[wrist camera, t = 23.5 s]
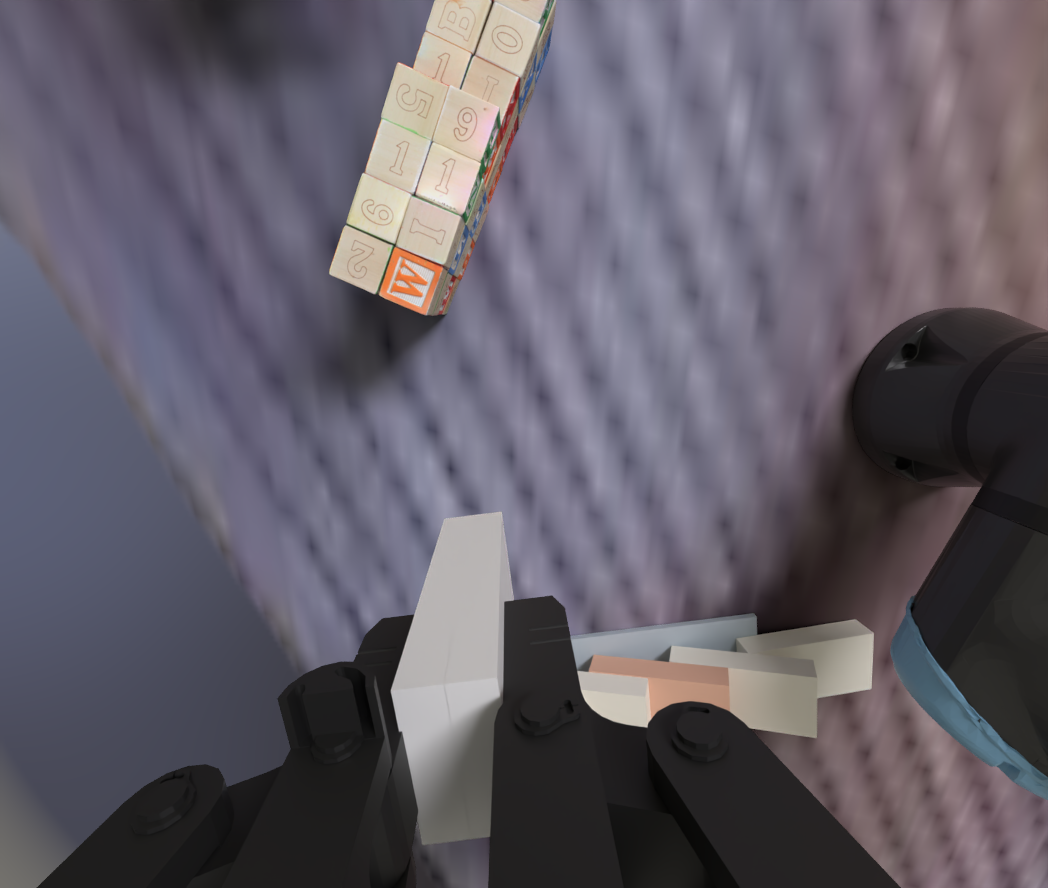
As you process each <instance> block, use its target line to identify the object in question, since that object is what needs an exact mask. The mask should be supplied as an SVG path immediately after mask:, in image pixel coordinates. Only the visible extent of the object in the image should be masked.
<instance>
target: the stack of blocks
mask: <svg viewBox="0 0 1048 888" xmlns="http://www.w3.org/2000/svg"><path fill="white" fill-rule="evenodd" d="M556 1H557V0H435V1H434V4H433V8H432V11H431V14H430V17H429V20H428V23H427V26H426V31H425V33H424V35H423V37H422V41H421V44H420V47H419V50H418V53H417V56H416V60H415V63H414V66H413V68H411V67H409V66H407V65H405V64H402V63H400V62H398V63H397V66H396V69H395V72H394V75H393V79H392V82H391V85H390V88H389V92H388V95H387V98H386V101H385V104H384V107H383V111H382V114H381V122H380V125H379V128H378V130H377V134H376V137H375V140H374V143H373V147H372V150H371V153H370V156H369V159H368V162H367V166H366V170H365V172H364V173H363V174H362V175H361V178H360V181H359V184H358V187H357V190H356V194H355V197H354V200H353V203H352V206H351V209H350V212H349V215H348V218H347V225H345V227H344V228H343V231H342V234H341V237H340V240H339V243H338V246H337V249H336V252H335V255H334V258H333V261H332V264H331V267H330V270H329V274H330V275H332V276H334V277H336V278H339V279H341V280H343V281H346V282H348V283H350V284H352V285H355V286H357V287H359V288H361V289H364V290H366V291H368V292H371V293H373V294H379V296H381V297H383V298H385V299H387V300H390V301H392V302H394V303H397V304H399V305H401V306H404V307H406V308H408V309H411V310H413V311H415V312H418V313H420V314H423V315H430V316H436V315H440V314H442V315H445V314H447V312H448V309H449V307H450V304H451V302H452V299H453V297H454V294H455V291H456V289H457V286H458V284H459V281H460V280H461V279H462V276H463V274H464V271H465V269H466V266H467V264H468V261H469V258H470V256H471V253H472V251H473V248H474V245H475V243H476V241H477V238H478V236H479V233H480V231H481V228H482V225H483V223H484V220H485V218H486V215H487V212H488V210H489V203H490V201H491V198H492V195H493V192H494V190H495V187H496V185H497V182H498V179H499V177H500V174H501V172H502V167H503V164H504V162H505V159H506V157H507V154H508V152H509V149H510V146H511V143H512V141H513V138H514V136H515V133H516V130H517V129H518V128H519V127H520V125H521V122H522V120H523V117H524V115H525V112H526V109H527V107H528V104H529V102H530V99H531V96H532V94H533V91H534V87H535V84H536V82H537V79H538V77H539V74H540V71H541V69H542V66H543V63H544V61H545V58H546V55H547V53H548V50H549V47H550V41H551V34H552V27H553V22H554V16H555V9H556Z"/></svg>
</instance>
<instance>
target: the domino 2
mask: <svg viewBox="0 0 1048 888" xmlns="http://www.w3.org/2000/svg"><path fill="white" fill-rule="evenodd" d="M589 672H593V673H602V674H612V675H622V676H631V677H641V678H648V685H649V698H650V711H651V719H652V717H653V716H654V715H655V714H656V712H657V711H659V710H661V709H663V708H665V707H667V706H668V705H670V704H673V703H680V702H686V701H695V702H704V703H710V704H713V705H715V706H718V707H721V708H723V709H726V710H728V711H730V696H729V675H728V668H725V667H715V666H705V665H695V664H685V663H674V662H664V661H654V660H644V659H634V658H623V657H613V656H603V655H593V659H592V662H591V665H590V668H589Z"/></svg>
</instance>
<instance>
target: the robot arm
mask: <svg viewBox="0 0 1048 888" xmlns="http://www.w3.org/2000/svg"><path fill="white" fill-rule="evenodd" d="M853 422H854V427H855V431H856V434H857V437H858V440H859V442H860V444H861V446H862V448H863V449H864V451H865V452H866V453H867V455H868V456H869V457H870V458H871V459H872V460H873V461H874V462H875V463H876V464H877V465H878V466H880V467H881V468H883V469H884V470H886V471H888V472H890V473H892V474H894V475H897V476H899V477H902V478H904V479H907V480H909V481H912V482H915V483H918V484H923V485H928V486H937V487H981V489H980V490H979V492H978V494H977V495H976V497H975V499H974V500H973V502H972V503H971V505H970V506H969V508H968V510H967V511H966V513H965V515H964V516H963V518H962V519H961V521H960V523H959V524H958V526H957V528H956V529H955V531H954V533H953V534H952V536H951V538H950V539H949V541H948V543H947V544H946V546H945V548H944V549H943V551H942V553H941V554H940V556H939V558H938V559H937V561H936V562H935V564H934V566H933V567H932V569H931V571H930V572H929V574H928V576H927V577H926V579H925V581H924V582H923V584H922V586H921V587H920V589H919V591H918V592H917V594H916V595H915V596H912V597H911V598H910V600H909V601H908V603H907V606H906V615H905V617H904V619H903V621H902V623H901V625H900V627H899V628H898V630H897V632H896V634H895V636H894V638H893V640H892V644H891V656H892V660H893V663H894V668H895V671H896V673H897V675H898V676H899V678H900V680H901V682H902V683H903V685H904V686H905V687H906V689H907V690H908V692H909V693H910V694H911V695H912V697H913V698H914V699H915V700H916V701H917V702H918V704H919V705H920V706H921V707H922V708H923V709H924V710H925V711H926V712H927V713H928V714H929V715H930V716H931V717H932V718H933V719H934V720H935V721H936V722H937V723H938V724H939V725H940V726H941V727H942V728H943V729H944V730H945V731H946V732H948V733H949V734H950V735H951V736H952V737H953V738H954V739H956V740H957V741H958V742H959V743H960V744H961V745H963V746H964V747H965V748H966V749H968V750H969V751H970V752H971V753H973V754H974V755H975V756H977V757H978V758H979V759H981V760H982V761H983V762H985V763H986V764H988V765H989V766H997V767H999V769H1000V770H1001V771H1003V772H1004V773H1005V774H1006V775H1007V776H1008V777H1009V778H1010V779H1011V780H1012V781H1013V782H1015V783H1016V784H1018V785H1020V786H1021V787H1023V788H1025V789H1026V790H1028V791H1030V792H1032V793H1033V794H1035V795H1037V796H1039V797H1042V798H1044V799H1046V800H1048V331H1047V330H1045V329H1042V328H1040V327H1037V326H1035V325H1032V324H1030V323H1027V322H1025V321H1022V320H1020V319H1017V318H1015V317H1012V316H1010V315H1007V314H1005V313H1002V312H999V311H995V310H990V309H984V308H945V309H938V310H934V311H930V312H927V313H923V314H921V315H918V316H916V317H914V318H912V319H910V320H908V321H906V322H905V323H903V324H901V325H900V326H898V327H897V328H896V329H894V330H893V331H892V332H891V333H890V334H888V335H887V336H886V337H885V338H884V339H883V340H882V341H881V342H880V343H879V344H878V346H877V347H876V348H875V349H874V351H873V352H872V353H871V355H870V356H869V358H868V359H867V361H866V363H865V365H864V366H863V368H862V371H861V373H860V375H859V378H858V381H857V384H856V387H855V392H854V397H853ZM999 515H1000V516H999ZM1012 520H1013V521H1012ZM1017 522H1018V523H1017ZM1022 524H1023V525H1022ZM1027 526H1028V527H1027ZM1032 528H1033V529H1032ZM1037 530H1038V531H1037ZM278 702H279V706H280V710H281V714H282V717H283V721H284V725H285V729H286V732H287V736H288V740H289V744H290V748H291V750H290V752H289V754H288V756H287V758H286V760H285V762H284V764H283V765H282V766H280V767H278V768H276V769H274V770H271V771H269V772H267V773H264V774H262V775H259V776H256V777H253V778H251V779H248V780H245V781H242V782H240V783H237V784H235V785H232V786H229V787H226V783H225V780H224V778H223V776H222V774H221V772H220V771H219V769H218V768H215V767H212V766H209V765H196V766H187V767H184V768H181V769H178V770H175V771H173V772H170V773H167V774H165V775H164V776H161V777H160V778H158V779H156V780H154V781H153V782H151V783H149V784H147V785H146V786H144V787H143V788H142V789H140V790H139V791H138V792H137V793H135V794H134V795H133V796H132V797H131V798H129V799H128V800H127V801H126V802H124V803H123V804H122V805H121V806H120V807H119V808H118V809H117V810H116V811H115V812H114V813H113V814H112V815H111V816H110V817H109V818H108V819H107V820H106V821H105V822H104V823H103V824H102V825H101V826H100V827H99V828H97V830H95V831H94V832H93V833H92V834H91V836H89V837H88V838H87V839H86V840H85V841H84V842H83V843H82V844H81V845H80V846H79V847H78V848H77V849H76V850H75V851H74V852H73V853H72V854H71V855H70V856H69V857H68V858H67V859H66V860H65V861H64V862H63V863H62V864H60V865H59V867H57V868H56V869H55V870H54V871H53V872H52V873H51V874H50V875H49V876H48V877H47V878H46V879H45V880H44V881H43V882H42V883H41V884H40V885H39V886H38V887H37V888H416V866H415V861H414V857H413V852H412V844H413V838H414V833H415V827H416V822H417V821H418V826H419V831H420V836H421V840H422V845H428V844H436V843H444V842H452V841H460V840H468V839H476V838H484V837H490V854H489V882H488V888H901V887H900V886H899V885H898V884H897V883H896V882H895V881H894V880H893V879H892V878H891V877H890V876H889V875H888V874H887V873H886V872H885V870H884V869H883V868H882V867H881V866H880V865H879V864H878V863H877V862H876V861H875V860H874V859H873V858H872V857H871V856H870V855H869V854H868V853H867V852H866V850H865V849H864V848H863V847H862V846H861V845H860V844H859V843H858V842H857V841H856V840H855V839H854V838H853V837H852V836H851V835H850V834H849V833H848V831H847V830H846V829H845V828H844V827H843V826H842V825H841V824H840V823H839V822H838V821H837V820H836V819H835V818H834V817H833V816H832V815H831V814H830V813H829V811H828V810H827V809H826V808H825V807H824V806H823V805H822V804H821V803H820V802H819V801H818V800H817V799H816V798H815V797H814V796H813V795H812V794H811V792H810V791H809V790H808V789H807V788H806V787H805V786H804V785H803V784H802V783H801V782H800V781H799V780H798V779H797V778H796V777H795V776H794V775H793V773H792V772H791V771H790V770H789V769H788V768H787V767H786V766H785V765H784V764H783V763H782V762H781V761H780V760H779V759H778V758H777V757H776V756H775V755H774V753H773V752H772V751H771V750H770V749H769V748H768V747H767V746H766V745H765V744H764V743H763V742H762V741H761V740H760V739H759V738H758V737H757V736H756V734H755V733H754V732H753V731H752V730H751V729H750V728H749V727H748V726H747V725H746V724H745V723H744V722H743V721H741V720H740V719H739V718H738V717H736V716H735V715H734V714H732V713H731V712H730V711H728V710H726V709H723V708H721V707H718V706H715V705H713V704H710V703H704V702H695V701H686V702H680V703H673V704H670V705H668V706H667V707H665V708H663V709H661V710H659V711H657V712H656V714H655V715H654V716H653V717H652V719H651V720H650V721H649V723H648V727H640V726H633V725H626V724H622V723H618V722H614V721H611V720H609V719H607V718H605V717H602V716H601V715H599V714H598V713H597V712H595V711H594V710H593V709H591V707H590V706H589V705H588V704H587V702H586V701H585V700H584V697H583V694H582V692H581V687H580V682H579V677H578V672H577V667H576V662H575V657H574V652H573V647H572V642H571V637H570V632H569V627H568V622H567V617H566V612H565V608H564V607H563V606H562V605H561V604H560V603H559V602H558V601H557V600H556V599H555V598H554V597H553V596H545V597H537V598H529V599H521V600H514V597H513V590H512V583H511V575H510V568H509V561H508V553H507V546H506V539H505V532H504V524H503V517H502V512H495V513H487V514H479V515H471V516H463V517H455V518H447V519H444V522H443V525H442V528H441V532H440V535H439V538H438V541H437V544H436V548H435V551H434V554H433V557H432V560H431V564H430V567H429V570H428V573H427V576H426V580H425V583H424V586H423V589H422V592H421V596H420V599H419V602H418V605H417V608H416V612H415V615H407V616H399V617H391V618H383V619H381V620H380V621H379V622H378V623H377V624H376V625H375V626H374V627H373V628H372V629H371V630H370V631H369V632H368V633H367V634H366V635H365V637H364V639H363V642H362V644H361V646H360V648H359V651H358V655H356V657H355V660H354V662H337V663H333V664H329V665H325V666H321V667H319V668H317V669H315V670H313V671H310V672H308V673H306V674H304V675H302V676H301V677H300V678H298V679H297V680H295V681H294V682H293V683H291V684H290V685H289V686H288V687H287V688H286V689H285V690H284V691H283V692H282V694H281V695H280V696H279V697H278Z"/></svg>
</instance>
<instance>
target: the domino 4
mask: <svg viewBox="0 0 1048 888" xmlns="http://www.w3.org/2000/svg"><path fill="white" fill-rule="evenodd" d="M873 640H874V633H873V632H872V631H870V630H869V629H868V628H866V627H865V626H864V625H863V624H861V623H860V622H859V621H857V620H856V619H854V620H848V621H841V622H835V623H829V624H823V625H816V626H810V627H804V628H798V629H792V630H785V631H779V632H773V633H767V634H760V635H754V636H748V637H742V638H736V649H737V652H740V653H750V654H760V655H770V656H779V657H789V658H799V659H809V660H813V662H814V666H815V670H816V674H817V698H821V697H827V696H833V695H839V694H845V693H851V692H857V691H863V690H869V689H871V687H872V664H873Z"/></svg>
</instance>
